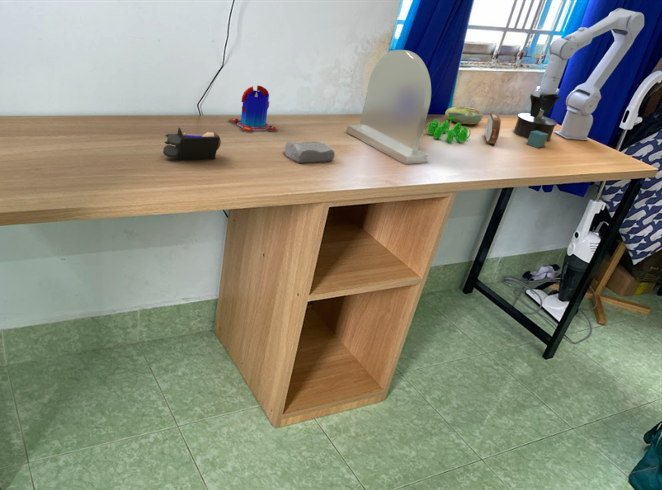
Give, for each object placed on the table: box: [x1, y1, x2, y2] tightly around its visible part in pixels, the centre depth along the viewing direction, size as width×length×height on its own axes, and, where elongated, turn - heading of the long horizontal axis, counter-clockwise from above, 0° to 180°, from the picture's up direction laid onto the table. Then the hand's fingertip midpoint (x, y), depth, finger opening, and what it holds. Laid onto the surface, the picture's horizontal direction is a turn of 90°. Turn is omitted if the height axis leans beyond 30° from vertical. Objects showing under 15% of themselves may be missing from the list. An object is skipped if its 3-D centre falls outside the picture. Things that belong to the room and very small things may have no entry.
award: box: [346, 49, 432, 165], centre depth 180 cm, size 28×9×28 cm, turn 32°
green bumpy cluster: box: [424, 116, 471, 144], centre depth 203 cm, size 15×15×7 cm
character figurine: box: [162, 127, 222, 161], centre depth 155 cm, size 8×7×15 cm
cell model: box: [444, 106, 484, 125], centre depth 223 cm, size 11×8×15 cm
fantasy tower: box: [229, 85, 278, 133], centre depth 184 cm, size 12×12×12 cm
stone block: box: [284, 141, 335, 164], centre depth 168 cm, size 12×5×10 cm
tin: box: [484, 112, 502, 145], centre depth 207 cm, size 15×3×8 cm, turn 168°
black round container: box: [513, 117, 556, 142], centre depth 221 cm, size 13×13×5 cm
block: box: [526, 130, 548, 149], centre depth 210 cm, size 4×4×4 cm
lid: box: [517, 109, 558, 127], centre depth 219 cm, size 14×14×5 cm
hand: (538, 115), depth 219 cm, fingers open, 7 cm apart
